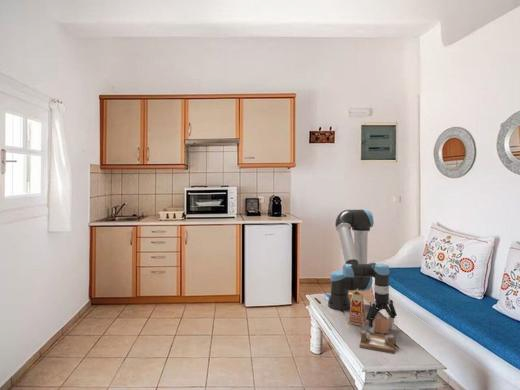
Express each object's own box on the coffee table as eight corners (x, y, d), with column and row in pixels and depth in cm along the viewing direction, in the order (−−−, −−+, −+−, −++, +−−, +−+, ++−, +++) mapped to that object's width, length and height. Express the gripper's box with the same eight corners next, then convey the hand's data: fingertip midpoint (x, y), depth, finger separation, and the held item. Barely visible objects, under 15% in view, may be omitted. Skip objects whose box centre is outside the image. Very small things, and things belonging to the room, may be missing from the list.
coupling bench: (362, 334, 183) (362, 323, 183) (394, 339, 177) (394, 328, 177) (359, 347, 168) (359, 335, 168) (393, 353, 162) (394, 341, 162)
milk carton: (364, 326, 194) (364, 291, 193) (347, 323, 198) (347, 289, 197) (366, 320, 202) (366, 287, 201) (350, 317, 206) (350, 285, 205)
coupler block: (374, 330, 188) (374, 317, 188) (381, 328, 190) (381, 316, 190) (380, 333, 184) (381, 321, 183) (388, 332, 186) (388, 319, 185)
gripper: (368, 297, 178) (368, 337, 179) (403, 291, 187) (403, 329, 188) (359, 293, 185) (359, 331, 186) (393, 287, 194) (393, 324, 195)
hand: (381, 330), depth 187 cm, fingers open, 12 cm apart
